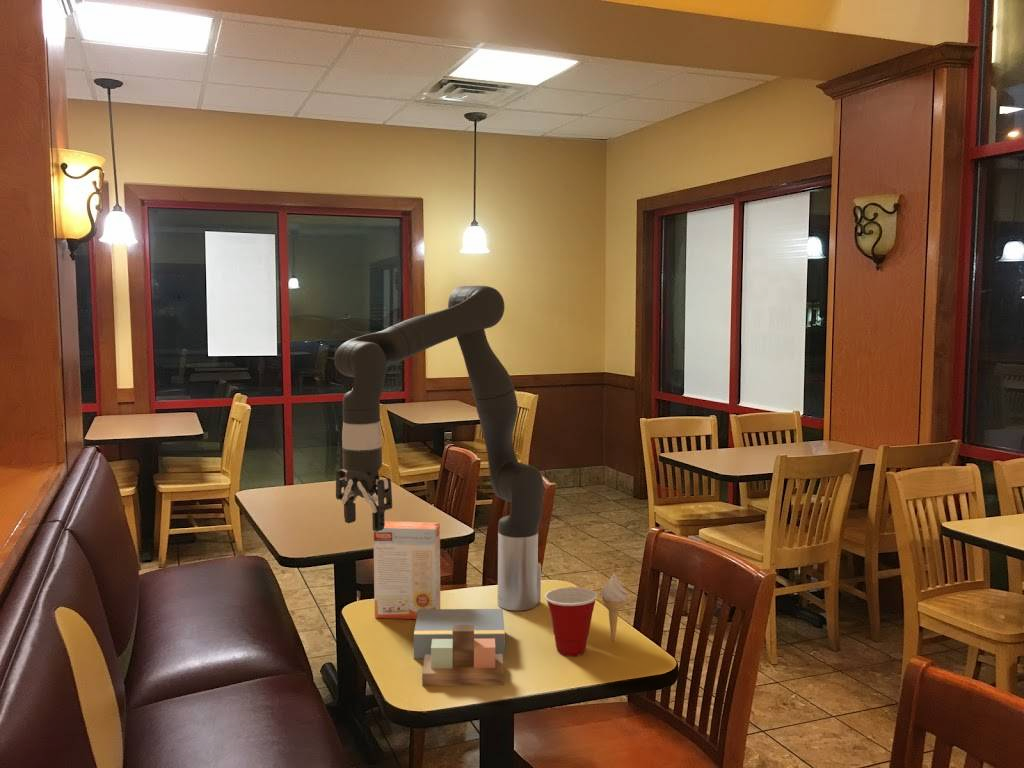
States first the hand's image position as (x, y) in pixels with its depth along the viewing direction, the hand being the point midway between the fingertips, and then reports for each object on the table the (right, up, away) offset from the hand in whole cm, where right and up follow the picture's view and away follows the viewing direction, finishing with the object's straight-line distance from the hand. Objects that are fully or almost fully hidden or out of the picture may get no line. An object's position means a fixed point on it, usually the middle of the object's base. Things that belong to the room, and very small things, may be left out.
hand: (364, 526), depth 163 cm
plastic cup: (+41, -27, +7) cm, 49 cm away
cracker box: (+6, -24, +25) cm, 35 cm away
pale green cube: (+16, -25, -5) cm, 30 cm away
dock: (+18, -26, +9) cm, 33 cm away
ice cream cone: (+50, -26, +12) cm, 58 cm away
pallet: (+20, -28, -4) cm, 34 cm away
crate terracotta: (+24, -25, -5) cm, 35 cm away
